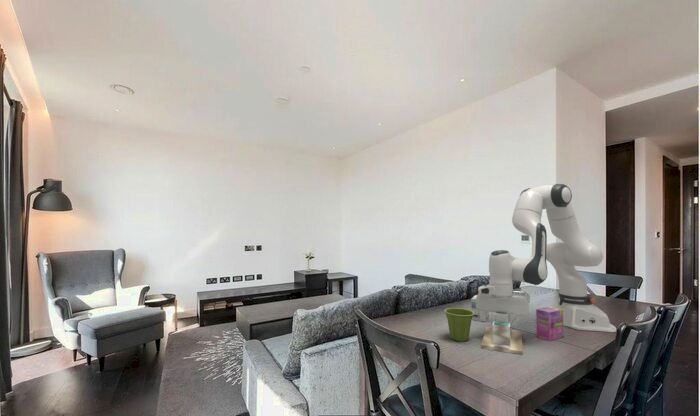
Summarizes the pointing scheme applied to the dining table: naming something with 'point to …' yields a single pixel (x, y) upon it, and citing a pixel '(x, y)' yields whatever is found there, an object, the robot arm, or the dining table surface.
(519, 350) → the board
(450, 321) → the plant pot
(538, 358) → the dining table surface
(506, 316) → the block
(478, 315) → the light bulb box
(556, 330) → the box
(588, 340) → the dining table surface
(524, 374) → the dining table surface
